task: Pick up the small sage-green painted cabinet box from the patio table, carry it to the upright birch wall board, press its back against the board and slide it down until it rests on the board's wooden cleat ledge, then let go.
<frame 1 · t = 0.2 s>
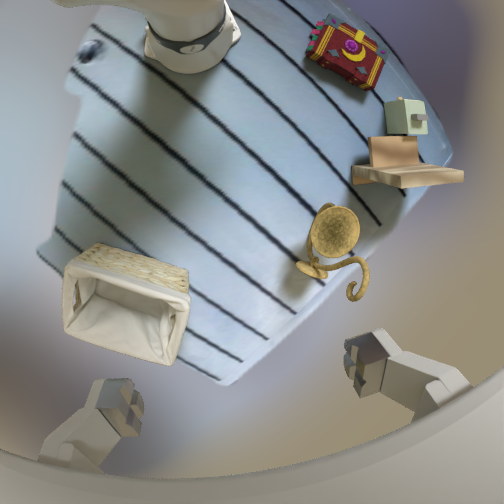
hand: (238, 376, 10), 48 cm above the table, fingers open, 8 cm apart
sage cabinet: (395, 118, 52), on the table
decorative book: (341, 54, 47), on the table
storage basket: (136, 283, 59), on the table
wall board: (382, 167, 56), on the table
wall sconce: (312, 227, 59), on the table
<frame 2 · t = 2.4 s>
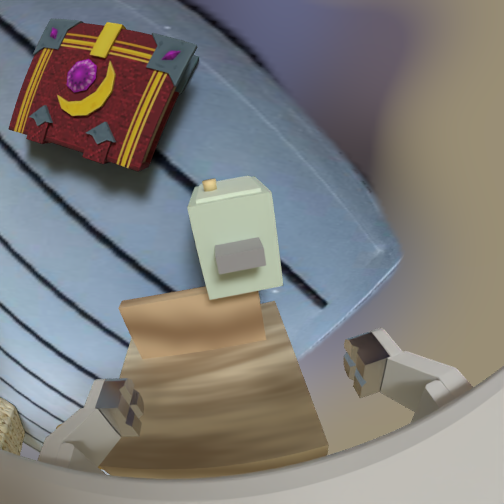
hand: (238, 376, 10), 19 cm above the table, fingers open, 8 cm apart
sage cabinet: (231, 217, 27), on the table
decorative book: (99, 90, 21), on the table
wall board: (204, 321, 31), on the table
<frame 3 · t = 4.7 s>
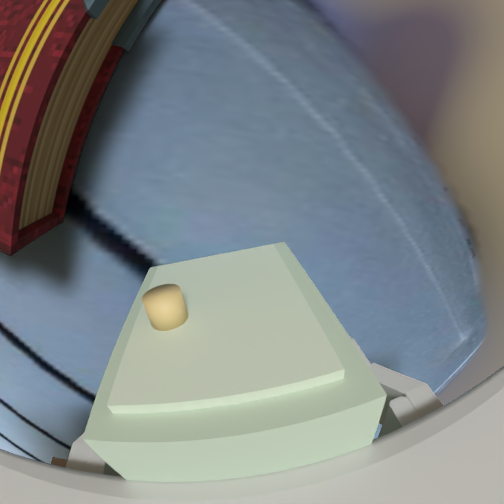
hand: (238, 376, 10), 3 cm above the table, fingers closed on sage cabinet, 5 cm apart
sage cabinet: (232, 326, 13), on the table, touching gripper
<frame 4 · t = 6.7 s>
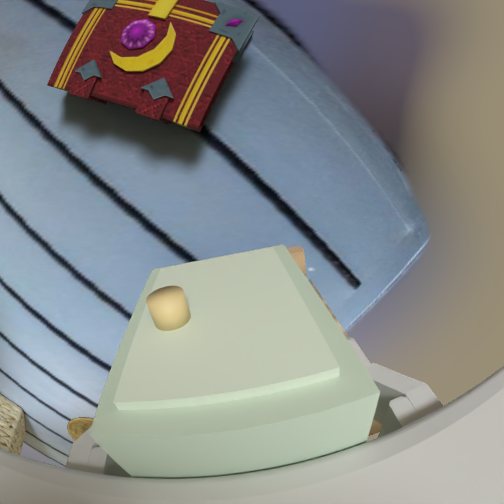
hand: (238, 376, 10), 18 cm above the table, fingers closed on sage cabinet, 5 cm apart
sage cabinet: (232, 327, 13), point 15 cm above the table, touching gripper
decorative book: (148, 56, 20), on the table
wall board: (237, 303, 30), on the table
wall sconce: (123, 388, 33), on the table
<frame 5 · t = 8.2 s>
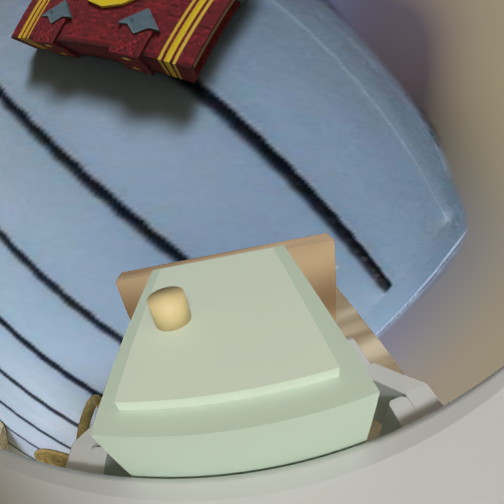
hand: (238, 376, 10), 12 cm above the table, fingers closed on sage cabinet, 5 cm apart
sage cabinet: (233, 327, 13), point 9 cm above the table, touching gripper
decorative book: (134, 2, 13), on the table
wall board: (237, 311, 23), on the table
wall sconce: (104, 409, 26), on the table
when the fingers open (10 cm above the table, at t = 9.1 s): sage cabinet stays where it is, resting on wall board.
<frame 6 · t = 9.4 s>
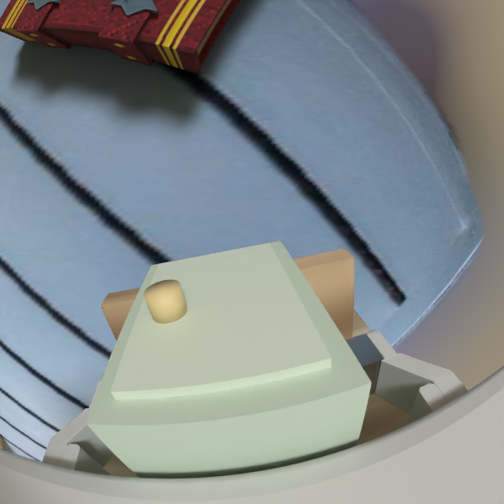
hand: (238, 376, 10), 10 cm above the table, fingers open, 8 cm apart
sage cabinet: (230, 322, 13), point 6 cm above the table, touching wall board
wall board: (240, 330, 20), on the table
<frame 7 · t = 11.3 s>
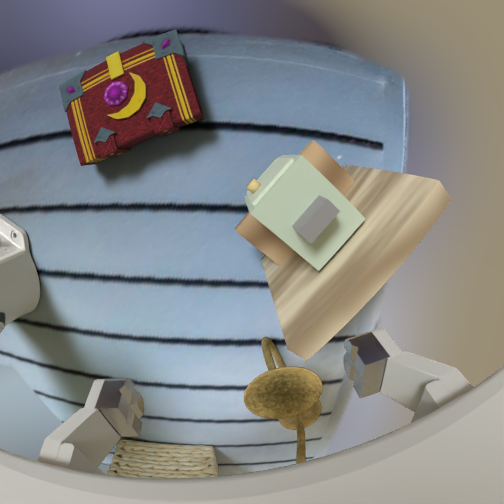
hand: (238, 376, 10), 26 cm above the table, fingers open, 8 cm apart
sage cabinet: (289, 199, 28), point 6 cm above the table, touching wall board
decorative book: (131, 104, 29), on the table
storage basket: (171, 456, 51), on the table
wall board: (309, 217, 35), on the table
wall sconce: (276, 353, 42), on the table
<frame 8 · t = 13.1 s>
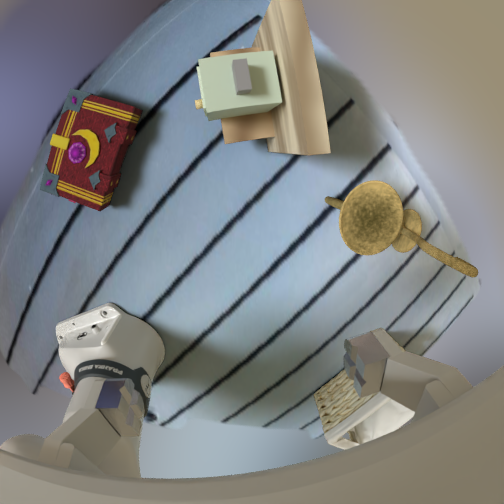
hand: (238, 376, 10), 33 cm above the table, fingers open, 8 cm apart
sage cabinet: (234, 94, 30), point 6 cm above the table, touching wall board
decorative book: (94, 151, 36), on the table
storage basket: (363, 373, 58), on the table
wall board: (266, 97, 36), on the table
wall sconce: (350, 206, 43), on the table
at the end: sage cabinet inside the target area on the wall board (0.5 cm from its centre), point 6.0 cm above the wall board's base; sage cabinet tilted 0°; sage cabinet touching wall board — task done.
